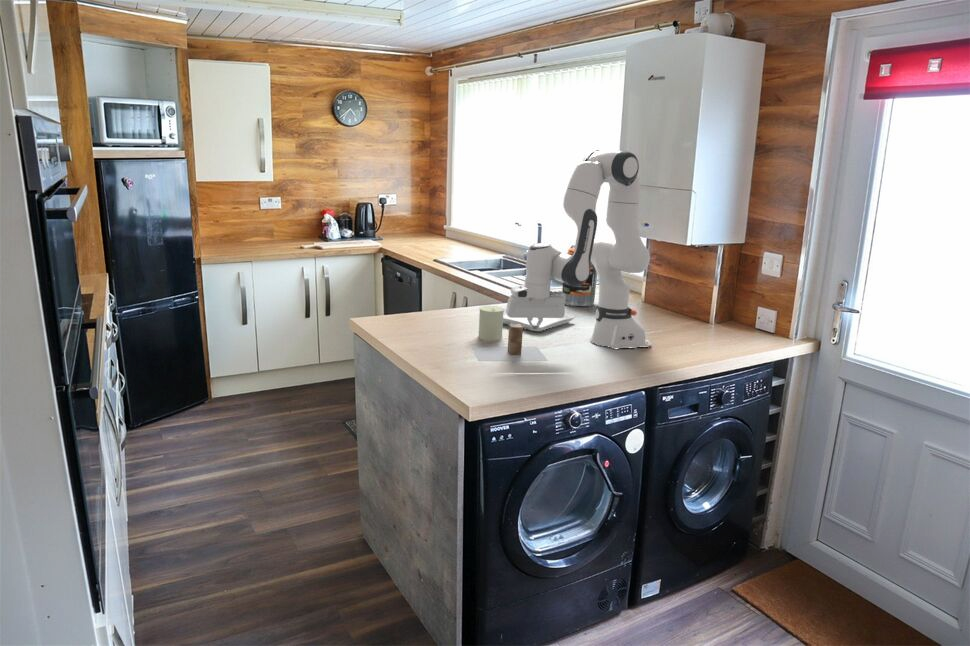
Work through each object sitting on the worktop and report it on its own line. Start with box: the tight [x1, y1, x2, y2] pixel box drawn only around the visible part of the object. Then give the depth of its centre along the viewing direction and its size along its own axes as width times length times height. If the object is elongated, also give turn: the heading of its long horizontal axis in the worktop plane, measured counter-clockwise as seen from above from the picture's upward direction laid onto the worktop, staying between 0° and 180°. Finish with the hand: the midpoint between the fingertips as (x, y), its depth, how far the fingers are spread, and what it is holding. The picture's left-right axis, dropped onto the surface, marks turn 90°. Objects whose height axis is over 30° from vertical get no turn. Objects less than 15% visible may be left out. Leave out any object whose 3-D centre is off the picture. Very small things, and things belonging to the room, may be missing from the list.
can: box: [477, 305, 505, 342], centre depth 250 cm, size 9×9×12 cm
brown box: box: [507, 324, 524, 355], centre depth 232 cm, size 4×4×10 cm
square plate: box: [503, 308, 576, 332], centre depth 277 cm, size 27×27×4 cm
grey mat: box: [471, 346, 548, 362], centre depth 233 cm, size 24×16×1 cm, turn 100°
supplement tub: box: [561, 247, 598, 307], centre depth 312 cm, size 16×16×26 cm
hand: (534, 329), depth 232 cm, fingers closed
